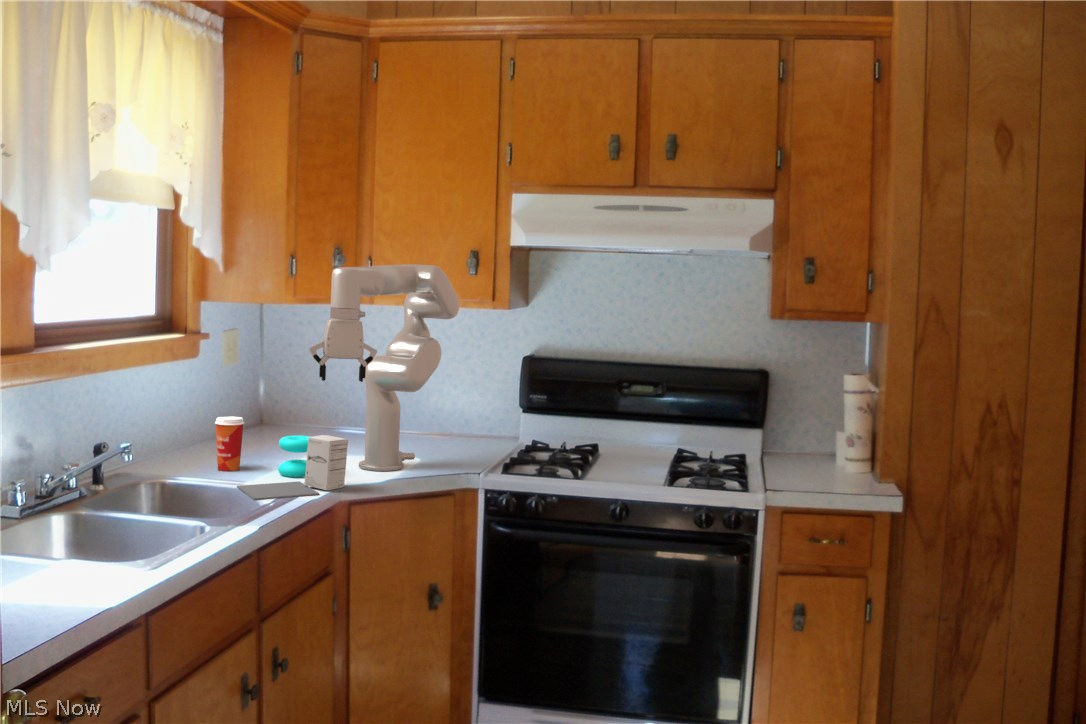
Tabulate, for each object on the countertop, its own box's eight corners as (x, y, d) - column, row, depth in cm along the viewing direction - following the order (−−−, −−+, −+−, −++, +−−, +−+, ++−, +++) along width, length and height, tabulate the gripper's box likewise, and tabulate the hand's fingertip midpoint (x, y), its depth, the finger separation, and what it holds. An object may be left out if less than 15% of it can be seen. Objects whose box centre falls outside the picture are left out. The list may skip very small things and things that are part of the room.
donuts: (310, 433, 271) (322, 439, 263) (309, 469, 272) (321, 476, 264) (274, 435, 266) (285, 441, 258) (273, 472, 267) (284, 479, 259)
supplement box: (303, 486, 249) (307, 436, 248) (322, 482, 256) (326, 434, 255) (326, 491, 246) (330, 440, 245) (345, 487, 252) (349, 438, 252)
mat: (299, 482, 255) (299, 481, 255) (319, 494, 242) (319, 493, 242) (236, 487, 246) (236, 485, 246) (253, 500, 234) (254, 498, 234)
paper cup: (209, 468, 268) (210, 416, 267) (236, 465, 273) (237, 415, 272) (220, 473, 262) (221, 420, 261) (248, 470, 267) (249, 419, 266)
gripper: (376, 316, 264) (373, 380, 265) (309, 313, 259) (307, 378, 260) (380, 317, 257) (377, 383, 258) (312, 314, 251) (309, 381, 253)
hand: (342, 380), depth 259 cm, fingers open, 9 cm apart
